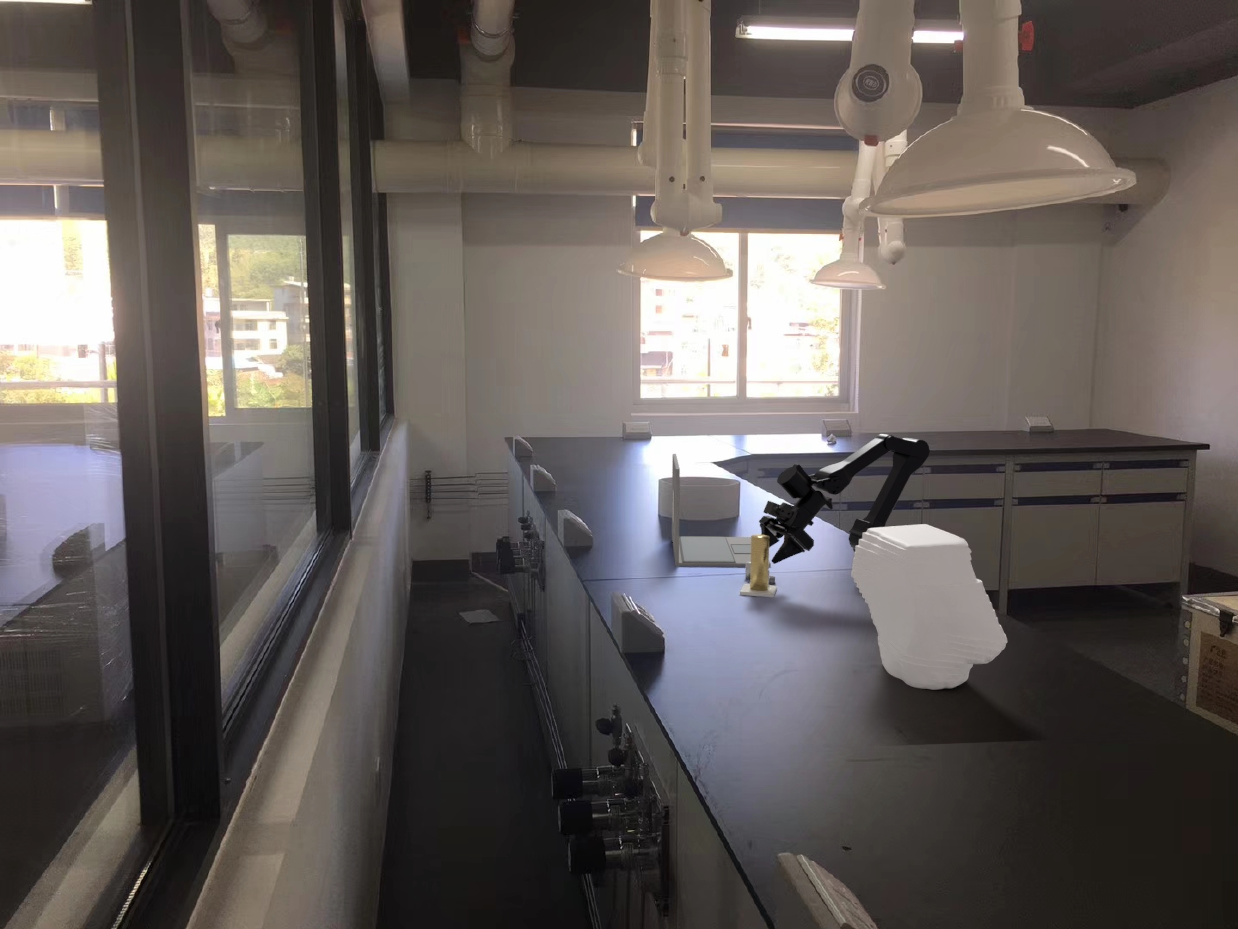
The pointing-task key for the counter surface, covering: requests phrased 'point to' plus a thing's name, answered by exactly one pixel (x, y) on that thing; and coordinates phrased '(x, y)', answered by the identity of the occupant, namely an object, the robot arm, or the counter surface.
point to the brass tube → (759, 562)
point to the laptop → (704, 540)
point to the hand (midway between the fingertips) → (763, 558)
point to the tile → (766, 593)
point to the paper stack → (926, 604)
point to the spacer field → (747, 575)
